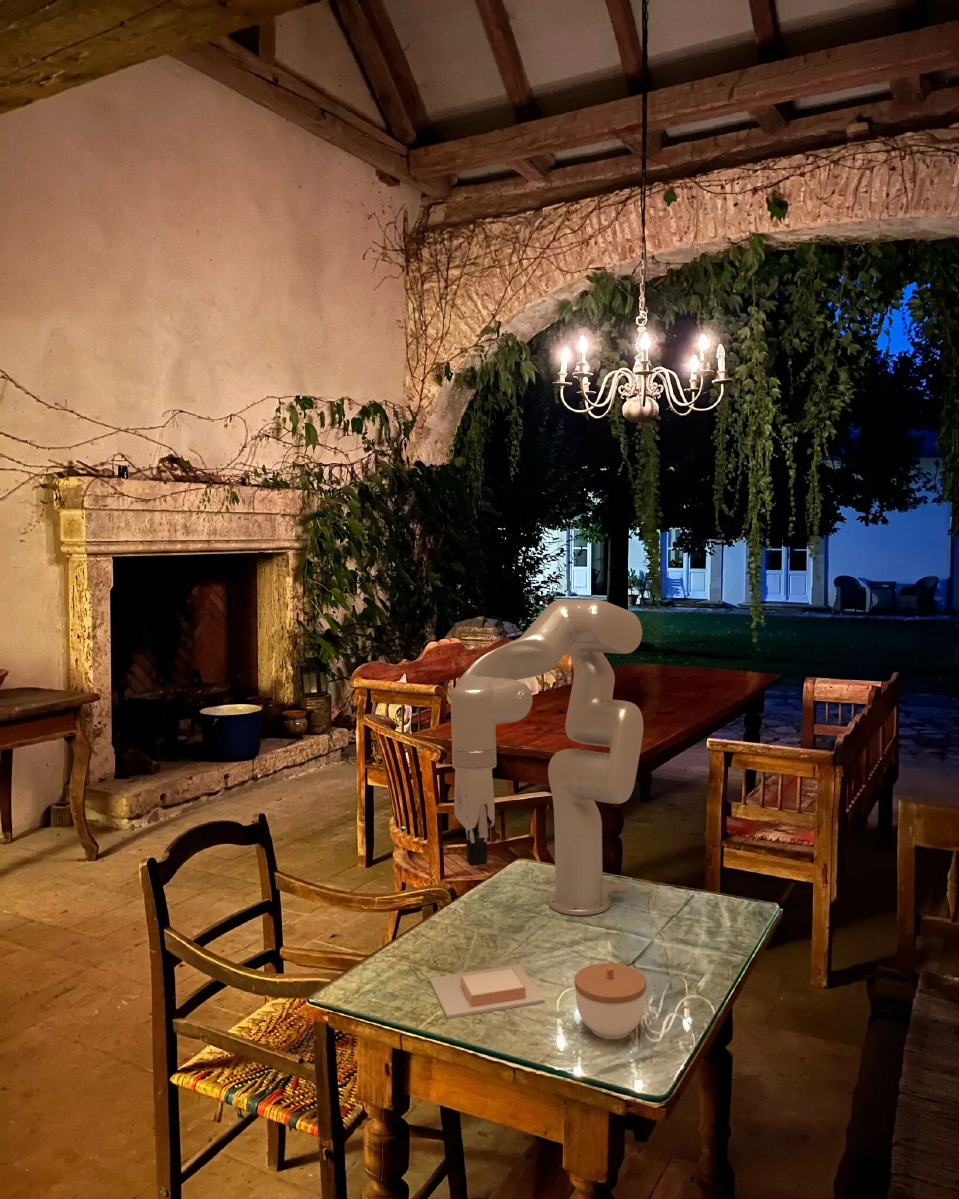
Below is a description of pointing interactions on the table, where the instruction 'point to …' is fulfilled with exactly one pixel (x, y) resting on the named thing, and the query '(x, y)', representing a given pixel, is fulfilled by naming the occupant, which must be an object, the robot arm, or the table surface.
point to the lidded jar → (610, 999)
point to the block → (492, 987)
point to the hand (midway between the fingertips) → (477, 863)
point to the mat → (459, 1006)
